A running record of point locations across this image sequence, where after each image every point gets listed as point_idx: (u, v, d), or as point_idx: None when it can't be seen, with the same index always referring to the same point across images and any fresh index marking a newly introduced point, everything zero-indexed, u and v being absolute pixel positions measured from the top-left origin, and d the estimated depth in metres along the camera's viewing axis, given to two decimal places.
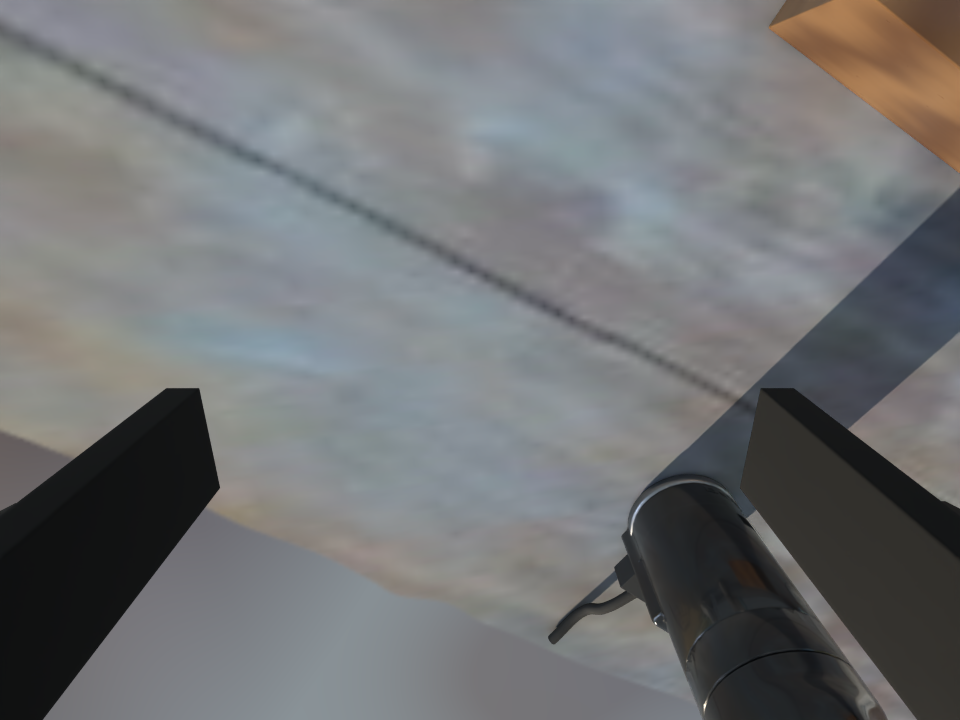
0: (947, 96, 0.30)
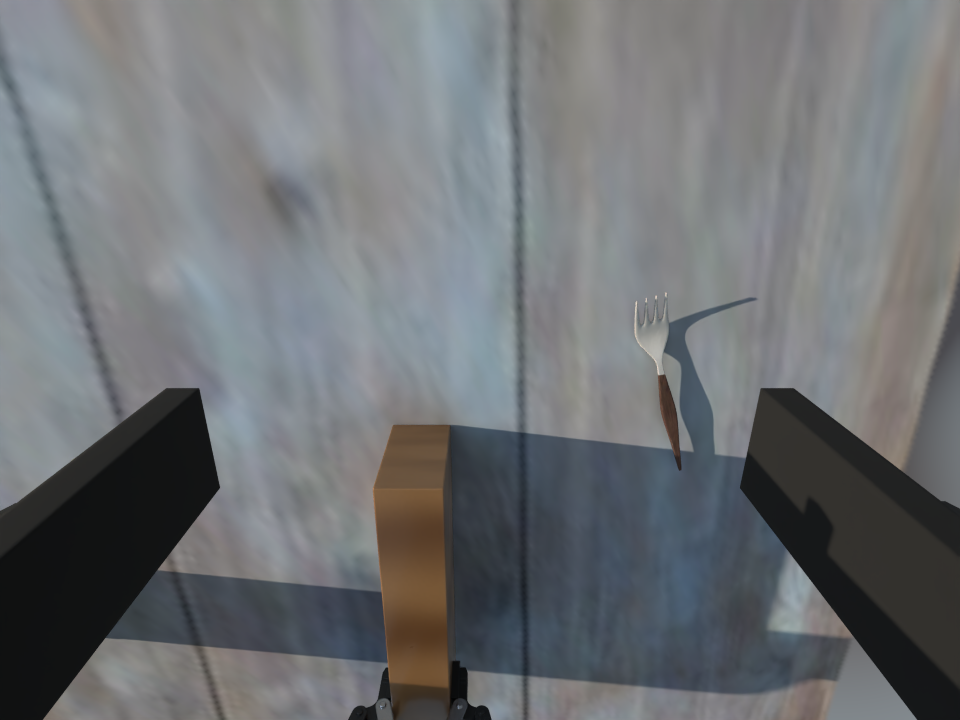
0: None
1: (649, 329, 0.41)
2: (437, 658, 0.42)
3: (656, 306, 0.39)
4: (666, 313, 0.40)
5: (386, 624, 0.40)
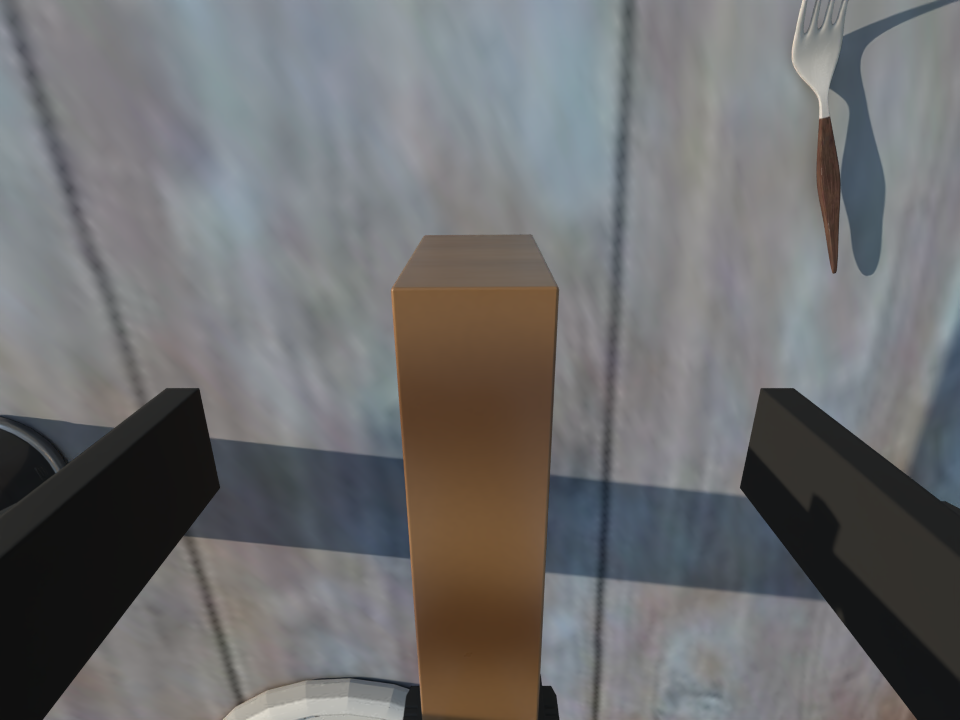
0: None
1: (814, 42, 0.28)
2: (519, 676, 0.21)
3: None
4: (844, 9, 0.27)
5: (417, 610, 0.20)
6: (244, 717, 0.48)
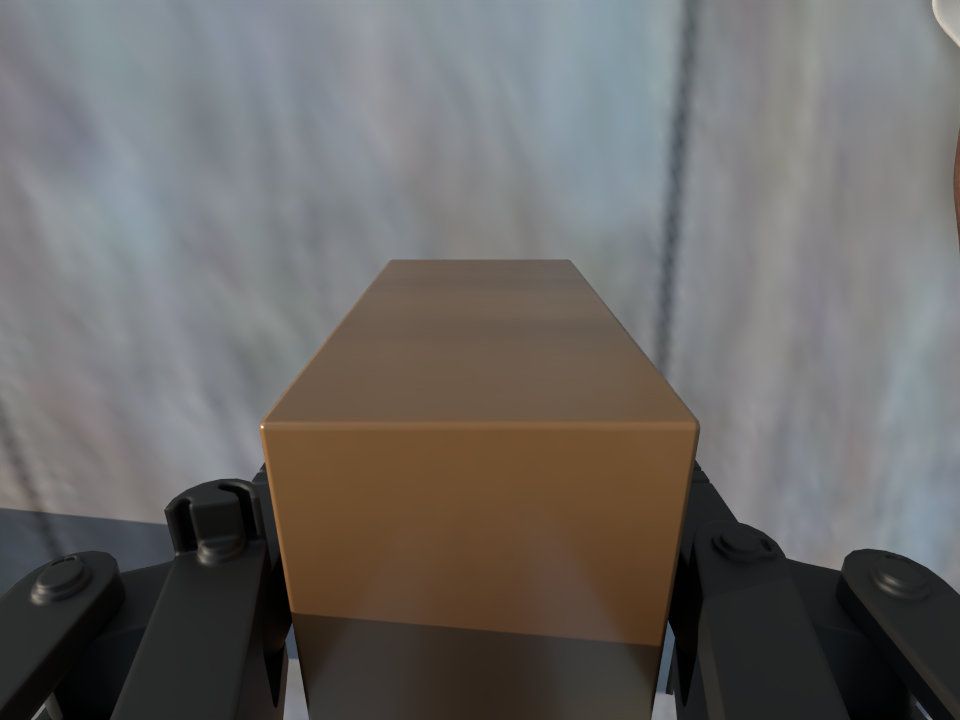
0: None
1: None
2: None
3: None
4: None
5: None
6: None
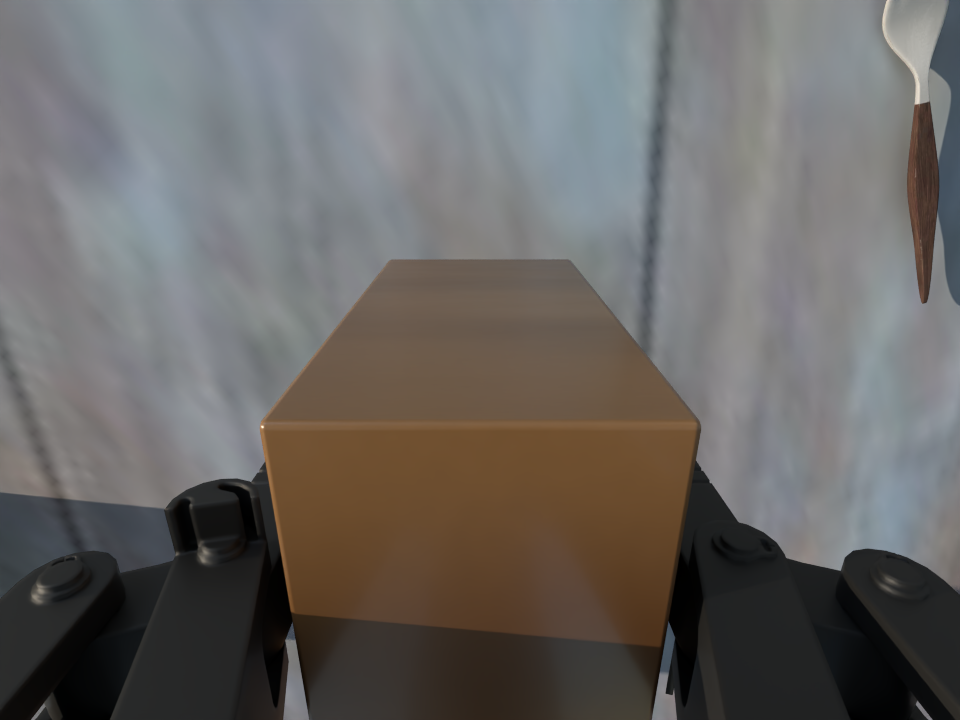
0: None
1: (914, 3, 0.22)
2: None
3: None
4: None
5: None
6: None
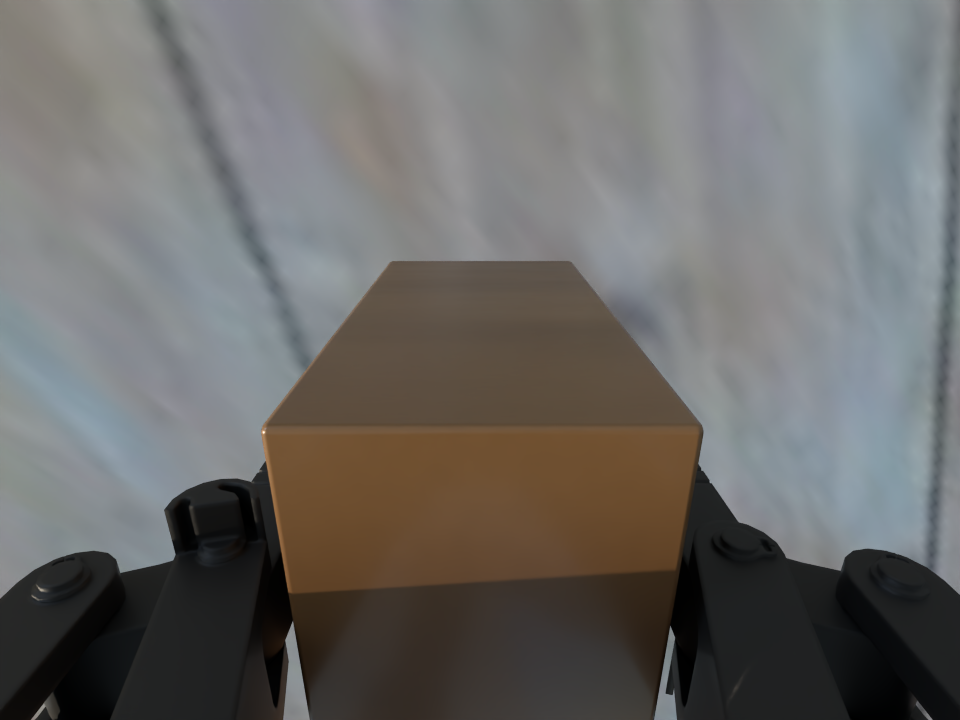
0: None
1: None
2: None
3: None
4: None
5: None
6: None
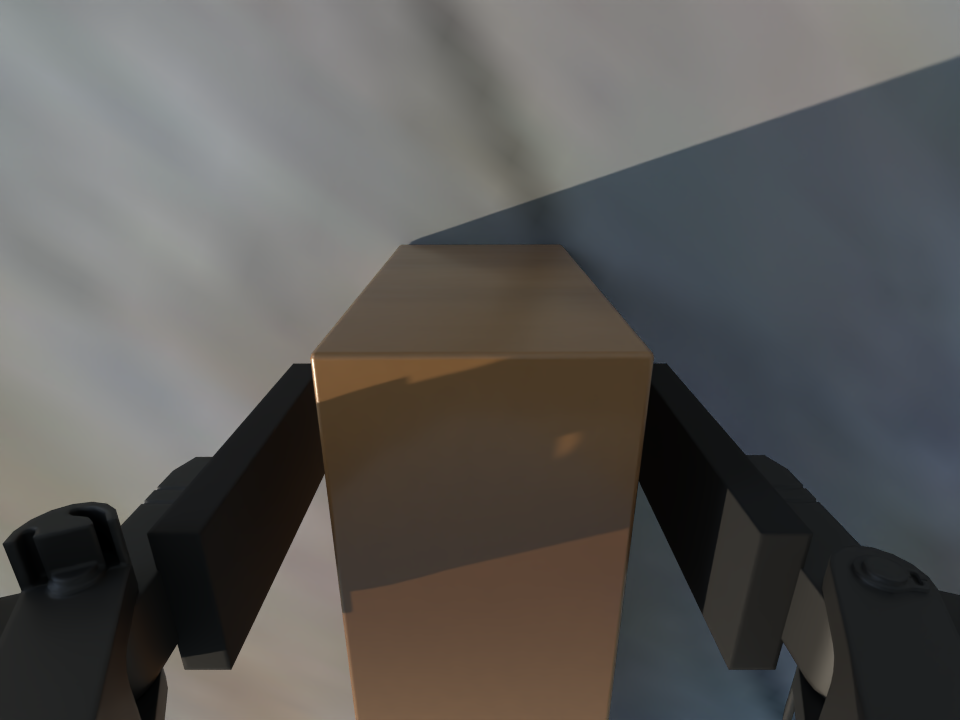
0: None
1: None
2: None
3: None
4: None
5: None
6: None
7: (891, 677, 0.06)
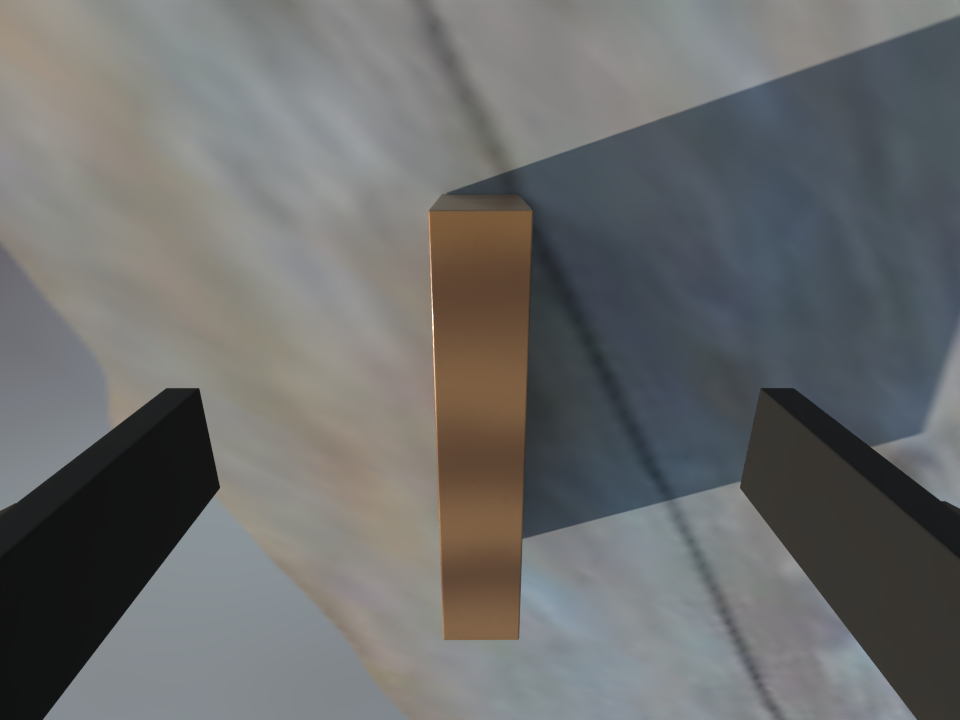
0: None
1: None
2: (509, 499, 0.30)
3: None
4: None
5: (438, 445, 0.29)
6: None
7: None
